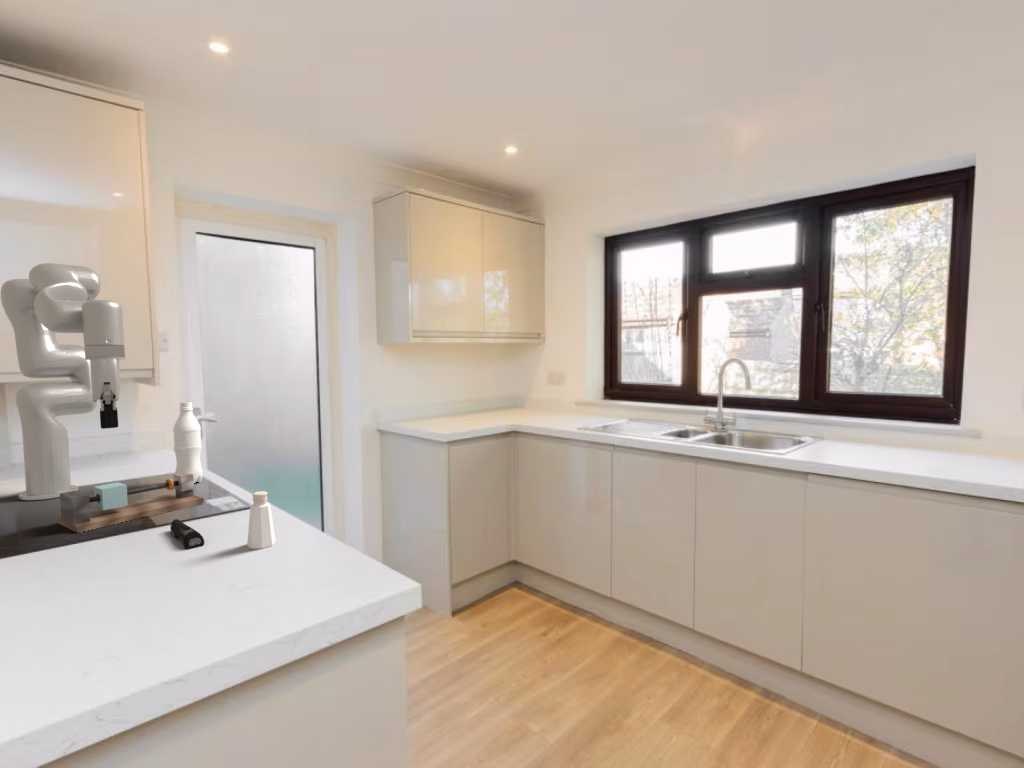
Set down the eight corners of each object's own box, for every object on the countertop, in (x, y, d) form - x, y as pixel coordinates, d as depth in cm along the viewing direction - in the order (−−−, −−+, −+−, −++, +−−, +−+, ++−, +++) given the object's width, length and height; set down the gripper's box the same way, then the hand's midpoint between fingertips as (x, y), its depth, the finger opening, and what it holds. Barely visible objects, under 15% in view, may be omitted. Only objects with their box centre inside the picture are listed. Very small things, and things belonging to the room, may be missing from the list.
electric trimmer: (186, 529, 121) (185, 516, 121) (206, 546, 110) (205, 531, 110) (166, 534, 118) (166, 520, 118) (185, 551, 107) (184, 536, 107)
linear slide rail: (77, 533, 118) (76, 499, 117) (58, 523, 124) (56, 492, 124) (203, 503, 140) (202, 475, 139) (181, 496, 147) (180, 470, 146)
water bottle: (190, 487, 157) (186, 403, 156) (169, 485, 159) (165, 403, 157) (208, 481, 164) (205, 401, 163) (188, 480, 166) (185, 400, 164)
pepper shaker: (247, 551, 107) (245, 497, 106) (246, 542, 111) (245, 491, 111) (276, 546, 109) (275, 494, 108) (275, 538, 114) (273, 488, 113)
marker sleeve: (103, 510, 124) (101, 489, 124) (94, 507, 127) (93, 486, 127) (127, 505, 128) (126, 484, 128) (119, 502, 131) (118, 482, 131)
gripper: (85, 354, 129) (90, 424, 129) (83, 353, 115) (88, 431, 116) (124, 354, 133) (128, 421, 134) (125, 352, 119) (130, 427, 120)
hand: (109, 426), depth 125 cm, fingers open, 9 cm apart
